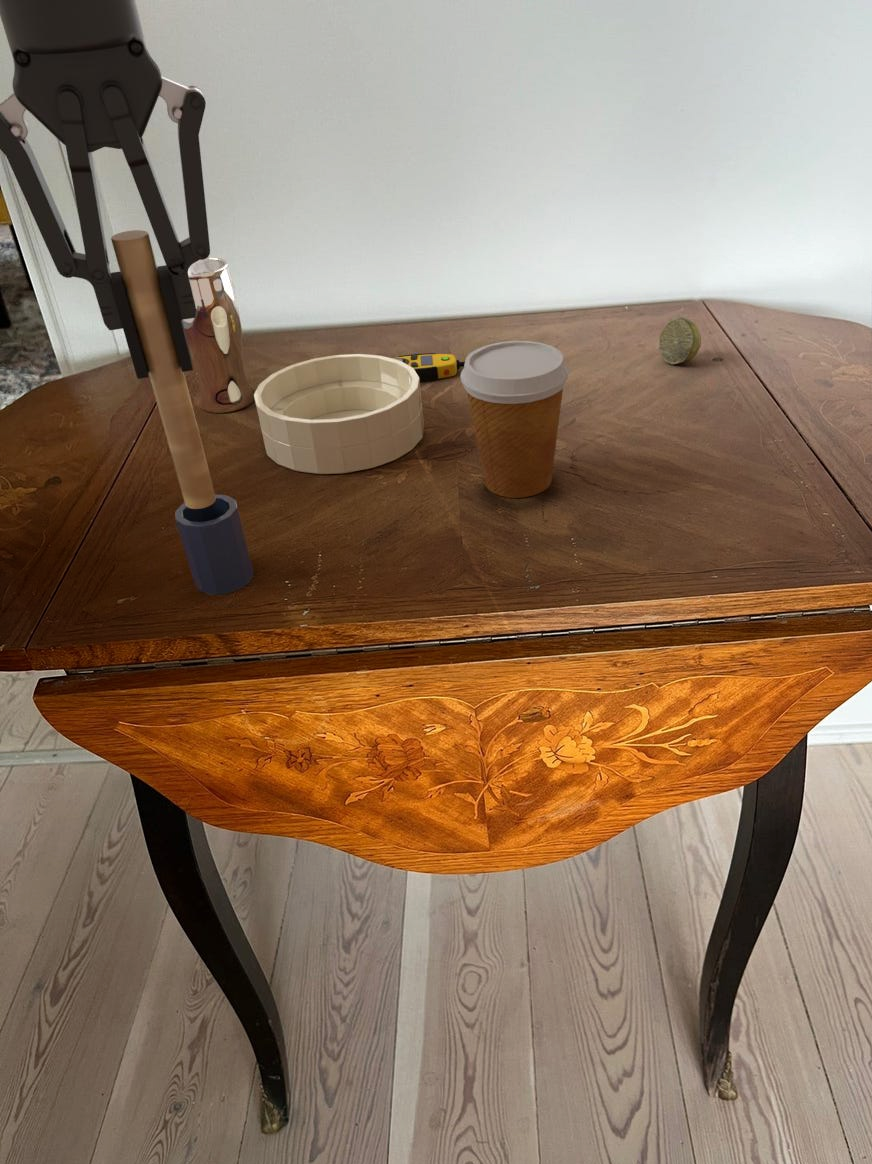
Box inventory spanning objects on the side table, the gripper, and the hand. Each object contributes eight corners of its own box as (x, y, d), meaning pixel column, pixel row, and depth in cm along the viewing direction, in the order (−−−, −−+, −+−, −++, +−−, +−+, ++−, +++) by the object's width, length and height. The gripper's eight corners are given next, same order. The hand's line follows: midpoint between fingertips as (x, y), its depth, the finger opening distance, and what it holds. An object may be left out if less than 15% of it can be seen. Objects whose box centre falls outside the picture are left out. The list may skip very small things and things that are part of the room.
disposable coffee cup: (543, 449, 95) (541, 331, 87) (585, 492, 88) (587, 368, 80) (453, 470, 92) (444, 351, 85) (490, 516, 85) (482, 390, 78)
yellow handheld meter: (378, 353, 112) (505, 342, 112) (380, 369, 113) (506, 358, 113) (378, 370, 108) (509, 359, 108) (380, 386, 109) (509, 375, 110)
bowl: (275, 492, 91) (263, 434, 87) (258, 422, 104) (247, 369, 100) (441, 461, 94) (436, 404, 90) (405, 396, 107) (399, 344, 103)
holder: (198, 603, 77) (176, 530, 73) (195, 572, 81) (174, 500, 76) (257, 591, 78) (239, 518, 74) (251, 561, 82) (234, 489, 77)
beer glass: (240, 383, 112) (210, 252, 103) (269, 401, 108) (241, 265, 98) (186, 402, 109) (150, 268, 99) (214, 420, 104) (179, 282, 95)
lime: (696, 370, 108) (700, 326, 105) (654, 367, 109) (656, 324, 106) (702, 355, 111) (705, 312, 108) (660, 352, 112) (663, 310, 109)
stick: (185, 511, 74) (110, 242, 61) (184, 497, 75) (111, 232, 63) (217, 505, 74) (148, 237, 62) (215, 491, 76) (148, 228, 63)
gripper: (193, -48, 58) (267, 333, 72) (-79, -28, 55) (55, 365, 69) (200, -44, 52) (279, 369, 66) (-104, -21, 49) (48, 406, 64)
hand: (164, 366), depth 68 cm, fingers closed on stick, 2 cm apart
